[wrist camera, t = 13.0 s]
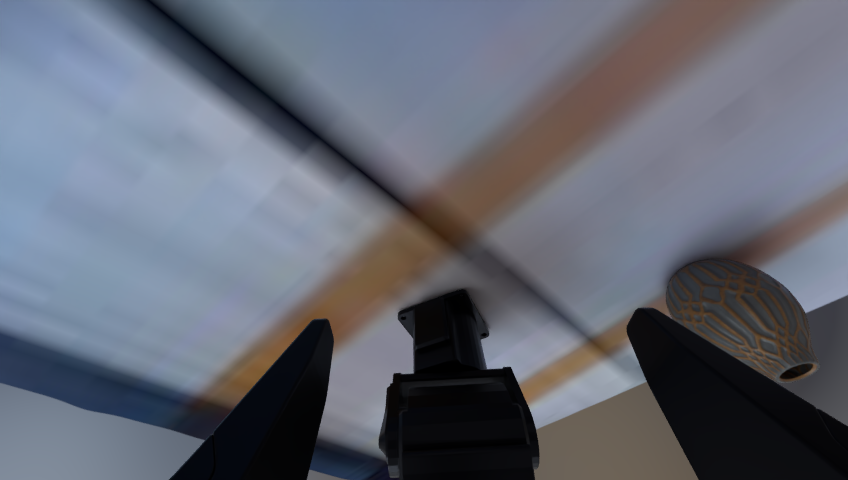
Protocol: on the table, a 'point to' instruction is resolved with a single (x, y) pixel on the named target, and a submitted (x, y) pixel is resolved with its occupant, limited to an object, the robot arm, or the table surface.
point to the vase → (744, 317)
